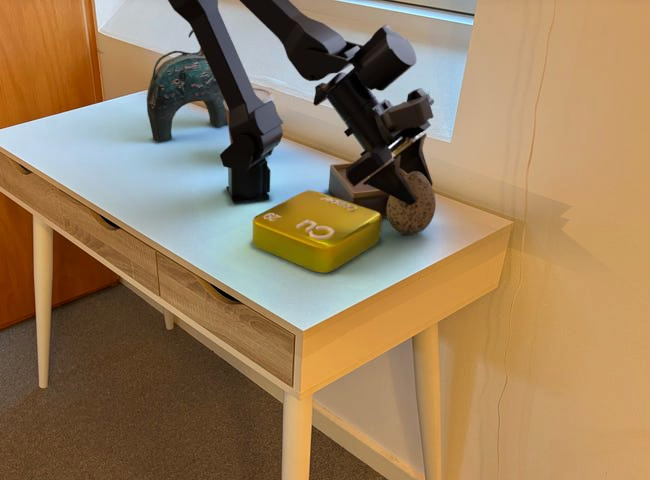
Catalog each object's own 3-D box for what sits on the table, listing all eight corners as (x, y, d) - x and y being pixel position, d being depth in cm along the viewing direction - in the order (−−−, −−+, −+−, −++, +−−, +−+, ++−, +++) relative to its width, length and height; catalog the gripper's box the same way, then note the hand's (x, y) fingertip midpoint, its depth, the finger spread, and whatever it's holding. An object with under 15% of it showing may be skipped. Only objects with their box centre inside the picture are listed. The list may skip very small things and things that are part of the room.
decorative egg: (438, 230, 113) (449, 169, 107) (418, 248, 108) (428, 185, 102) (396, 218, 116) (405, 159, 110) (375, 235, 112) (382, 174, 106)
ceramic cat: (224, 117, 159) (222, 19, 147) (241, 125, 154) (240, 25, 142) (145, 137, 151) (137, 36, 139) (161, 146, 147) (153, 42, 135)
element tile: (384, 239, 111) (388, 210, 108) (325, 277, 103) (327, 247, 100) (307, 212, 120) (308, 184, 117) (246, 244, 112) (246, 216, 109)
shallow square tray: (351, 221, 116) (353, 193, 114) (328, 191, 126) (330, 164, 123) (415, 213, 118) (420, 185, 115) (388, 184, 127) (391, 158, 124)
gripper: (374, 93, 94) (443, 189, 96) (427, 58, 106) (487, 144, 108) (317, 142, 103) (381, 229, 104) (371, 104, 115) (428, 183, 116)
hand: (421, 195), depth 108 cm, fingers closed on decorative egg, 6 cm apart
